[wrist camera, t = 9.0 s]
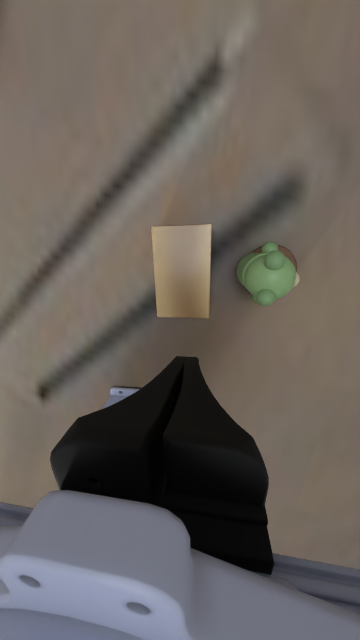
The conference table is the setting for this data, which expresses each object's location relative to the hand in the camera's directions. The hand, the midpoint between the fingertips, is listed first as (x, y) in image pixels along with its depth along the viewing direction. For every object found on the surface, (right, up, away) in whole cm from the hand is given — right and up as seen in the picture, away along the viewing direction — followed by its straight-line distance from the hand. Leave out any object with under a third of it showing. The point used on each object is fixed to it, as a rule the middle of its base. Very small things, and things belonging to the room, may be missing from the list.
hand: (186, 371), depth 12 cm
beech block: (0, +8, +8) cm, 12 cm away
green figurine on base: (+5, +8, +7) cm, 12 cm away
